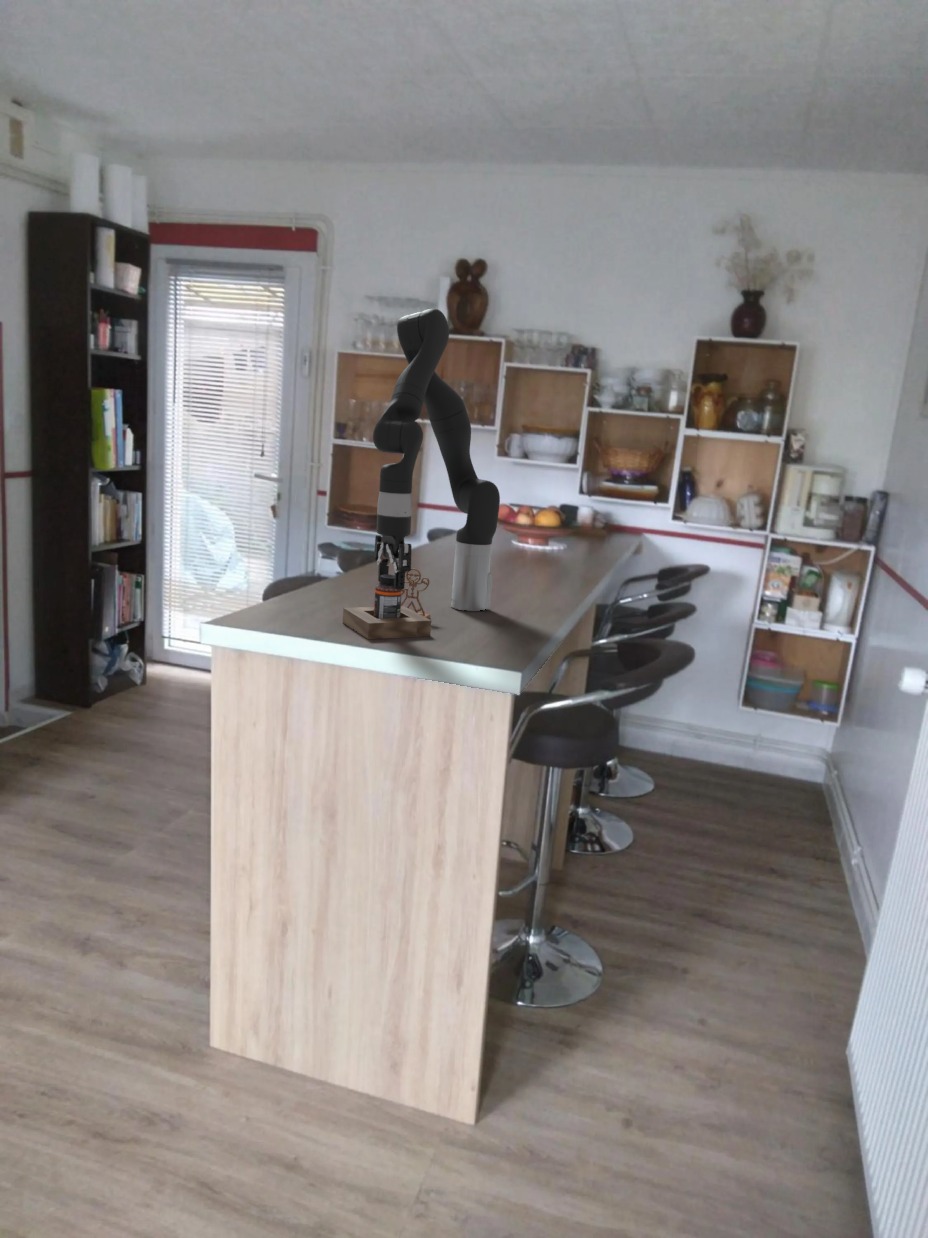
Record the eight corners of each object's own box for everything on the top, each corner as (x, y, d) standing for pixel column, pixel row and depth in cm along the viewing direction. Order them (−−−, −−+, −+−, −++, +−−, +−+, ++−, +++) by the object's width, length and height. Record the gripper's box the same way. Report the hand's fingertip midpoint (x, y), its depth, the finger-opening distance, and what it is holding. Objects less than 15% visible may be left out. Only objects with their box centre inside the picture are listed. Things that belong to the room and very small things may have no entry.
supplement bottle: (373, 621, 197) (376, 572, 195) (399, 622, 198) (402, 574, 195) (372, 627, 191) (375, 577, 189) (399, 628, 192) (402, 579, 189)
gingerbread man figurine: (390, 616, 208) (393, 567, 205) (396, 613, 212) (399, 565, 209) (425, 621, 206) (428, 571, 203) (430, 618, 209) (434, 569, 207)
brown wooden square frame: (401, 620, 205) (402, 605, 204) (430, 635, 192) (431, 620, 191) (342, 622, 197) (343, 607, 197) (367, 639, 185) (368, 623, 184)
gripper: (424, 517, 185) (420, 591, 188) (396, 509, 197) (392, 578, 200) (392, 517, 181) (388, 592, 185) (365, 508, 193) (362, 580, 197)
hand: (390, 585), depth 192 cm, fingers open, 8 cm apart
